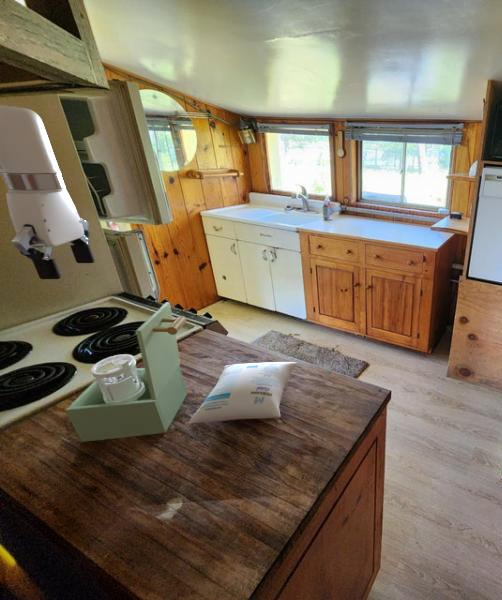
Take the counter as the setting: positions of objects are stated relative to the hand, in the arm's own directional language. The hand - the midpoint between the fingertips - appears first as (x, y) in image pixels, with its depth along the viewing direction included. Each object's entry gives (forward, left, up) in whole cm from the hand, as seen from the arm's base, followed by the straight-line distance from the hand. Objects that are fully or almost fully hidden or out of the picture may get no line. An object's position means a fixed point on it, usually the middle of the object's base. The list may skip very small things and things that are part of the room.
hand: (69, 270), depth 67 cm
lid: (+16, -9, -15) cm, 24 cm away
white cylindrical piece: (+7, -9, -32) cm, 34 cm away
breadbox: (+8, -9, -33) cm, 35 cm away
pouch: (+32, -8, -33) cm, 47 cm away
